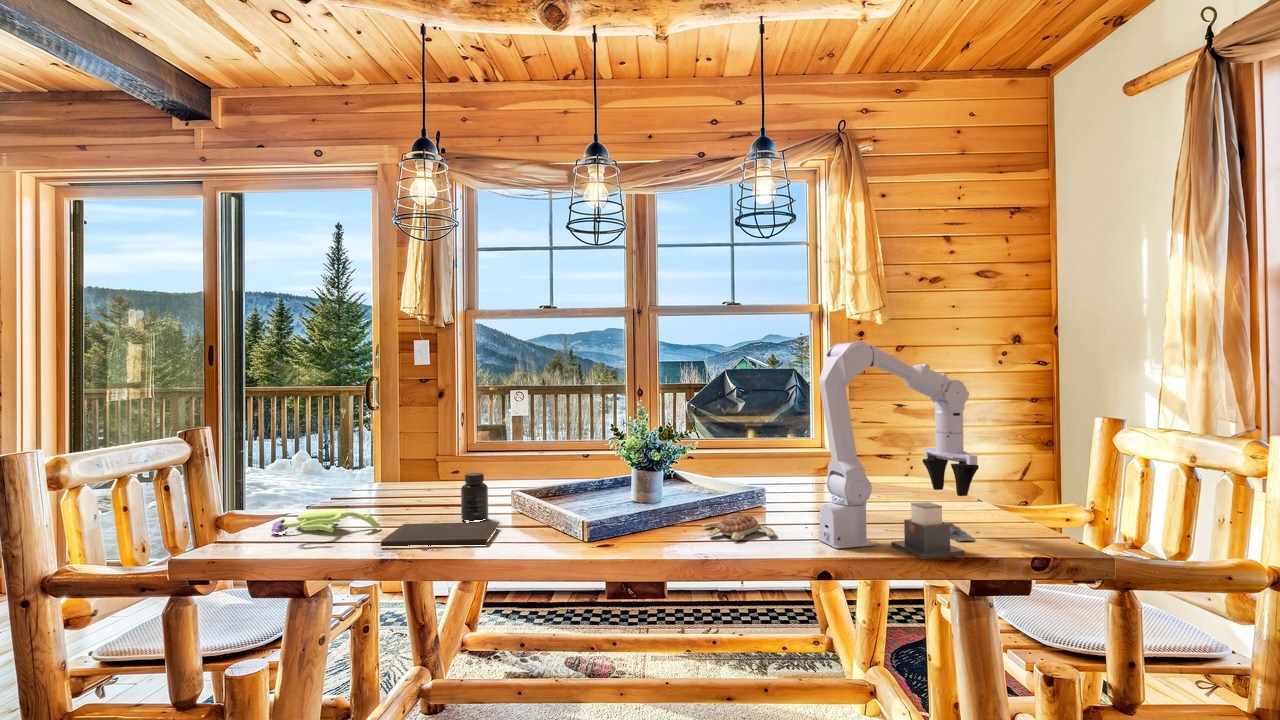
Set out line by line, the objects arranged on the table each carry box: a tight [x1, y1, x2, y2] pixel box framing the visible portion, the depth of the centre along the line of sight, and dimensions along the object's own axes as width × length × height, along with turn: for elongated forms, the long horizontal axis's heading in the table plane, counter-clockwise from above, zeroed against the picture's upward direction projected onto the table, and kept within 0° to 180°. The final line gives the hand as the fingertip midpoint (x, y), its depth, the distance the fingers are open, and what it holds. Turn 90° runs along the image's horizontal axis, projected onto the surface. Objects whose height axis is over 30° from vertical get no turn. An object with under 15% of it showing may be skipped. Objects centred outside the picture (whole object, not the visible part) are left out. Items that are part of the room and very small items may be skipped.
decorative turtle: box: [701, 512, 776, 541], centre depth 151 cm, size 18×17×5 cm
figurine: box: [271, 509, 382, 533], centre depth 157 cm, size 18×27×6 cm
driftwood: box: [948, 522, 977, 543], centre depth 151 cm, size 21×7×2 cm, turn 170°
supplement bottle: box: [460, 472, 489, 521], centre depth 168 cm, size 7×7×12 cm
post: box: [910, 501, 943, 526], centre depth 135 cm, size 4×4×9 cm
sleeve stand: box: [890, 518, 966, 560], centre depth 135 cm, size 10×10×6 cm
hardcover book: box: [380, 521, 500, 547], centre depth 149 cm, size 16×23×2 cm
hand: (950, 492), depth 145 cm, fingers open, 7 cm apart
